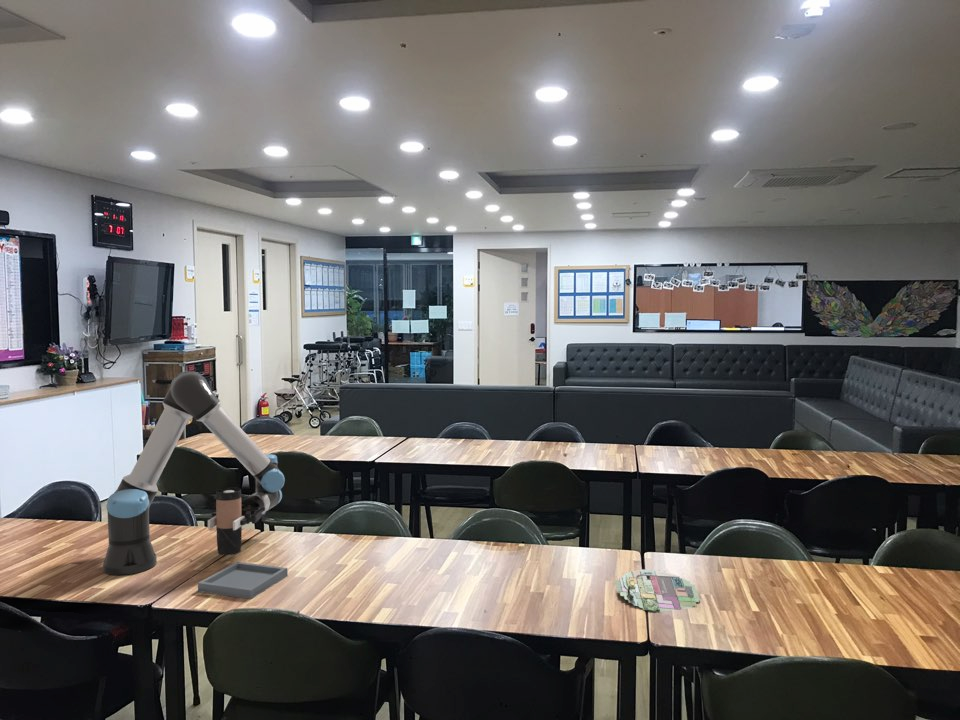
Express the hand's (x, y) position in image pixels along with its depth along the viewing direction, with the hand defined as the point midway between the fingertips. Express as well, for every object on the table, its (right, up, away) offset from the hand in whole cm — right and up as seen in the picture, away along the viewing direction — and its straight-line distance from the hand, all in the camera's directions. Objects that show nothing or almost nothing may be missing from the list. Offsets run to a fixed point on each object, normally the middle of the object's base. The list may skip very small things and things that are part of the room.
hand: (221, 525), depth 220 cm
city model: (+130, -16, -21) cm, 133 cm away
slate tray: (+11, -15, -11) cm, 21 cm away
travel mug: (+1, -10, +5) cm, 11 cm away
